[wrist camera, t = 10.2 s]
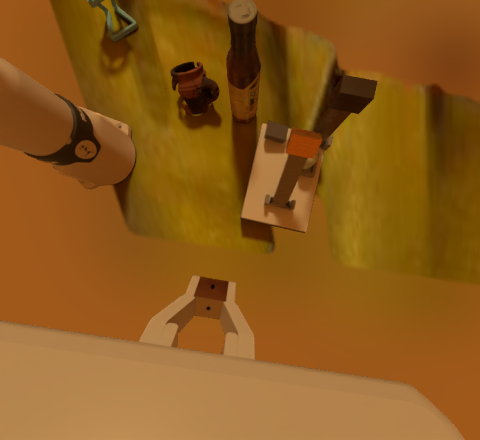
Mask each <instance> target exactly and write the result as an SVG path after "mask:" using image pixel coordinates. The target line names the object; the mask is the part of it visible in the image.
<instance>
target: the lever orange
mask: <svg viewBox="0 0 480 440" xmlns="http://www.w3.org/2000/svg"><path fill="white" fill-rule="evenodd" d="M321 142H322V136H321V133H317V132H312V131H307V130H302V129H297V128H292V130H291V133H290V136H289V139H288V142H287V145H286V154H288V157H287V159H286V162H285V165H284V168H283V171H282V174H281V177H280V179H279V182H278V185H277V188H276V191H275V194H274V196H273V197H270V201H269V205H273V206H277V207H282V208H286V209H288V207H289V204H290V200H289V198H290V196H291V194H292V192H293V190H294V187H295V185H296V183H297V181H298V179H299V176H300V174H301V172H302V170H303V168H304V165H305V163H306V161H307V159H308V158H311V159H314V157H315V155H316V153H317V150H318V148H319V146H320V144H321Z"/></svg>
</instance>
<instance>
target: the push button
mask: <svg viewBox="0 0 480 440" xmlns="http://www.w3.org/2000/svg"><path fill="white" fill-rule="evenodd" d="M317 160H318V154H317V153H316V155H315V157H314V159H311V158H308V159H307V161H306V163H305V165H304V168H303V170H308V169H309V168H310V167H312V166H313V165H314V164H315V163H316V162H317Z"/></svg>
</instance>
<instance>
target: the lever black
mask: <svg viewBox="0 0 480 440" xmlns="http://www.w3.org/2000/svg"><path fill="white" fill-rule="evenodd" d="M376 85H377V81H374V80H369V79H363V78H358V77H352V76H347V75H343V76H342V78H341V80H340V81H339V83H338V84H337V86H336V87H335V89H334V91H333V92H332V96H331V100H330V105H329V108H328V110H327V111H326V113H325V114H324V115H323V117H322V118H321V120H320V121H319V123H318V124H317V125H316V127H315V128H314V130H313V131H312V132H317V133H321V136H322V142H321V144H320V146H319V147H320V148H323V147H324V145H325V142H326V140H327V138H328V137H329V136H330V135H331V134H332V133H333V132H334V131H335V130H336V129H337V128H338V127H339V125H340V124H341V123H342V122H343V121H344V120H345V119H346V118H347V117H348V116H349V115H350V114H351V113H356V114H359V113H360V112H361V111H362V110H363V109H364V108H365V107H366V106H367V105H368V104H369V103H370V102H371V101H372V100H373V99H374V95H375V90H376Z"/></svg>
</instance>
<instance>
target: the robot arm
mask: <svg viewBox="0 0 480 440" xmlns="http://www.w3.org/2000/svg"><path fill="white" fill-rule="evenodd" d="M0 145H4V146H7V147H10V148H13V149H16V150H20V151H22V152H24V153H25V154H27V155H29V156H31V157H33V158H36V159H37V160H40V161H43V162H46V163H51V164H52V165H53V168H54V169H56V170H58V172H59V173H61V174H63V175H66V176H69V177H72V178H75V179H77V180H78V181H79V182H80V183H81V184H82V185H83V186H84V187H85V188H88V189H94V188H96V187H98V186H101V185H113V184H116V183H119V182H120V181H122V180H124V179H125V178H126V177H127V176H128V175H129V174H130V172H131V171H132V169H133V166H134V163H135V158H136V154H135V148H134V145H133V143H132V140H131V128H130V127H129V126H128V125H126V124H124V123H122V122H119V121H116V120H114V119H111V118H109V117H106V116H103V115H101V114H99V113H95V112H93V111H90V110H88V109H85V108H82V107H79V106H77V105H75V104H74V103H72V102H71V101H69V100H67V99H66V98H64V97H62V96H60V95H58V94H55V93H52V92H51V91H50V90H48V89H47V88H45V87H44V86H42V85H41V84H39V83H38V82H36V81H35V80H33V79H32V78H31V77H29V76H28V75H26V74H25V73H23V72H22V71H20V70H19V69H17V68H16V67H14V66H13V65H12V64H10V63H9V62H7V61H6V60H4V59H2V58H0ZM235 291H236V283H235V282H229V281H224V280H217V279H211V278H206V277H200V276H195V275H193V277H192V279H191V281H190V284H189V286H188V289H187V291H186V294H185V295H182V296H181V297H179V298H178V299H177V300H175V301H174V302H173V303H171V304H170V305H169V306H167V307H166V308H165V309H163V310H162V311H161V312H159V313H158V314H157V315H155V316H154V317H153V318H151V320H150V321H149V323H148V325H147V327H146V329H145V331H144V333H143V335H142V336H141V338H140V341H139V342H136V341H130V340H124V339H118V338H111V337H104V336H98V335H91V334H85V333H79V332H72V331H65V330H59V329H53V328H46V327H40V326H34V325H27V324H21V323H15V322H8V321H2V320H0V440H465V439H464V438H463V436H462V435H461V434H460V432H459V431H458V430H457V429H456V427H455V426H454V425H453V423H452V422H451V421H450V420H449V419H448V418H447V417H446V416H445V415H444V414H443V413H442V412H441V411H440V410H438V409H437V408H436V407H435V406H434V405H433V404H432V403H431V402H430V401H429V400H428V399H427V398H425V397H424V396H423V395H422V394H421V393H420V392H419V391H417V390H416V389H415V388H414V387H412V386H411V385H409V384H406V383H402V382H397V381H390V380H384V379H377V378H371V377H364V376H357V375H351V374H345V373H338V372H331V371H326V370H319V369H312V368H306V367H300V366H293V365H287V364H280V363H274V362H266V361H261V360H255V358H254V335H253V333H252V331H251V329H250V328H249V326H248V324H247V322H246V320H245V318H244V317H243V315H242V313H241V311H240V309H239V307H238V306H237V304H235V303H234V302H235ZM194 316H202V317H208V318H213V319H219V320H220V323H221V326H222V328H223V331H224V334H225V341H224V345H223V349H222V352H221V354H214V353H209V352H202V351H196V350H188V349H182V348H177V346H178V333H179V332H180V331H181V329H183V328H184V327H185V325H186V324H187V323H188V322H189V321H190V320H191V319H192V318H193V317H194Z"/></svg>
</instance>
